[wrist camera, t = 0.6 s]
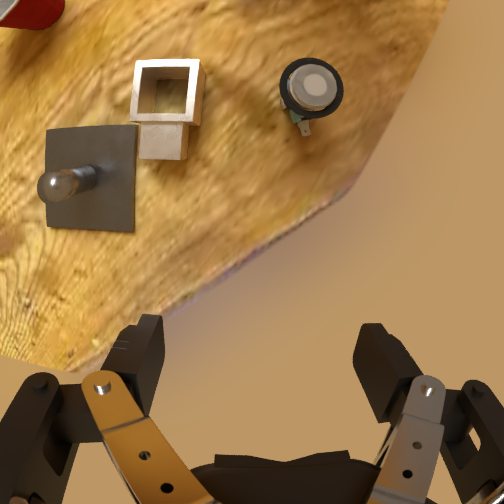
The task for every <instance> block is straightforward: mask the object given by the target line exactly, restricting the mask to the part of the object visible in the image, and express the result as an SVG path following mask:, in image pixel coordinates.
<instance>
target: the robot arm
mask: <svg viewBox="0 0 504 504" xmlns="http://www.w3.org/2000/svg"><path fill="white" fill-rule="evenodd" d="M164 358H165V343H164V331H163V319H162V316H161V315H151V314H142V316H141V318H140V320H139V322H138V324H137V326H136V325H129V326H127V327H126V328H125V329H123V330H122V331H121V332H120V333H119V335H118V337H117V339H116V341H115V343H114V345H113V348H111V350H110V352H109V354H108V356H107V358H106V360H105V361H104V363H103V365H102V367H101V369H100V371H95V372H93V373H90V374H89V375H87V376H86V377H85V378H84V379H83V381H82V383H81V384H68V385H67V384H66V385H60V384H59V382H58V380H57V378H56V377H55V376H54V375H52V374H50V373H46V372H40V373H35V374H33V375H31V376H29V377H28V378H27V379H26V380H25V381H24V382H23V384H22V386H21V387H20V389H19V391H18V392H17V394H16V395H15V397H14V399H13V401H12V402H11V404H10V406H9V408H8V409H7V411H6V413H5V415H4V417H3V418H2V420H1V422H0V504H62V500H63V497H64V493H65V490H66V486H67V483H68V479H69V476H70V472H71V469H72V466H73V462H74V459H75V456H76V453H77V450H78V447H79V444H80V443H90V442H103V445H104V447H105V449H106V451H107V453H108V454H109V456H110V458H111V460H112V462H113V464H114V466H115V468H116V469H117V471H118V473H119V475H120V477H121V478H122V480H123V482H124V484H125V486H126V488H127V489H128V491H129V493H130V495H131V496H132V498H133V499H134V501H135V503H136V504H437V503H435V502H434V501H432V500H430V499H429V498H427V494H428V490H429V487H430V484H431V480H432V477H433V474H434V470H435V466H436V463H437V459H438V455H439V451H440V453H441V455H442V457H443V460H444V462H445V464H446V466H447V468H448V471H449V473H450V476H451V478H452V480H453V483H454V485H455V488H456V490H457V493H458V495H459V498H460V500H461V503H462V504H504V408H503V406H502V405H501V403H500V402H499V400H498V399H497V398H496V396H495V395H494V394H493V392H492V391H491V389H490V388H489V387H488V386H487V385H486V384H485V383H483V382H480V381H478V380H469V381H467V382H465V384H464V385H463V387H462V389H461V390H451V389H446V388H445V386H444V384H443V383H442V382H441V381H440V380H438V379H437V378H435V377H432V376H429V375H424V374H423V373H422V371H421V370H420V369H419V367H418V366H417V364H416V363H415V361H414V360H413V358H412V357H411V356H410V354H409V353H408V351H407V350H406V348H405V347H404V346H403V344H402V343H401V341H400V340H398V339H397V338H396V337H394V336H393V335H392V334H388V332H387V331H386V329H385V328H384V327H383V325H382V324H381V323H365V324H363V325H362V326H361V329H360V332H359V336H358V340H357V343H356V346H355V350H354V353H353V367H354V369H355V372H356V374H357V376H358V378H359V380H360V383H361V385H362V387H363V389H364V391H365V394H366V396H367V398H368V401H369V403H370V405H371V407H372V409H373V412H374V414H375V416H376V419H377V421H378V423H384V422H390V424H391V426H390V428H389V429H388V431H387V434H386V436H385V438H384V441H383V443H382V445H381V447H380V449H379V452H378V454H377V456H376V458H375V460H374V462H373V464H371V463H368V462H365V461H361V460H356V459H350V456H349V452H348V450H344V451H335V452H325V453H317V454H313V455H310V456H306V457H303V458H299V459H296V460H292V461H287V462H280V461H274V460H268V459H263V458H258V457H253V456H247V455H244V456H243V455H219V454H215V460H214V463H212V464H207V465H203V466H199V467H196V468H193V469H191V470H189V469H188V468H187V466H186V465H185V464H184V463H183V461H182V460H181V459H180V457H179V456H178V455H177V453H176V452H175V451H174V449H173V448H172V447H171V446H170V444H169V443H168V441H167V440H166V439H165V437H164V436H163V434H162V433H161V432H160V430H159V429H158V427H157V426H156V424H155V423H154V421H153V420H152V419H151V418H150V417H149V412H150V408H151V405H152V401H153V398H154V394H155V390H156V387H157V384H158V380H159V377H160V373H161V370H162V366H163V363H164ZM473 427H474V429H475V431H476V432H477V434H478V436H479V438H480V441H481V445H480V449H479V451H478V450H477V448H476V446H475V445H474V443H473V441H472V439H471V437H470V435H469V432H470V431H471V429H472V428H473Z"/></svg>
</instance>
